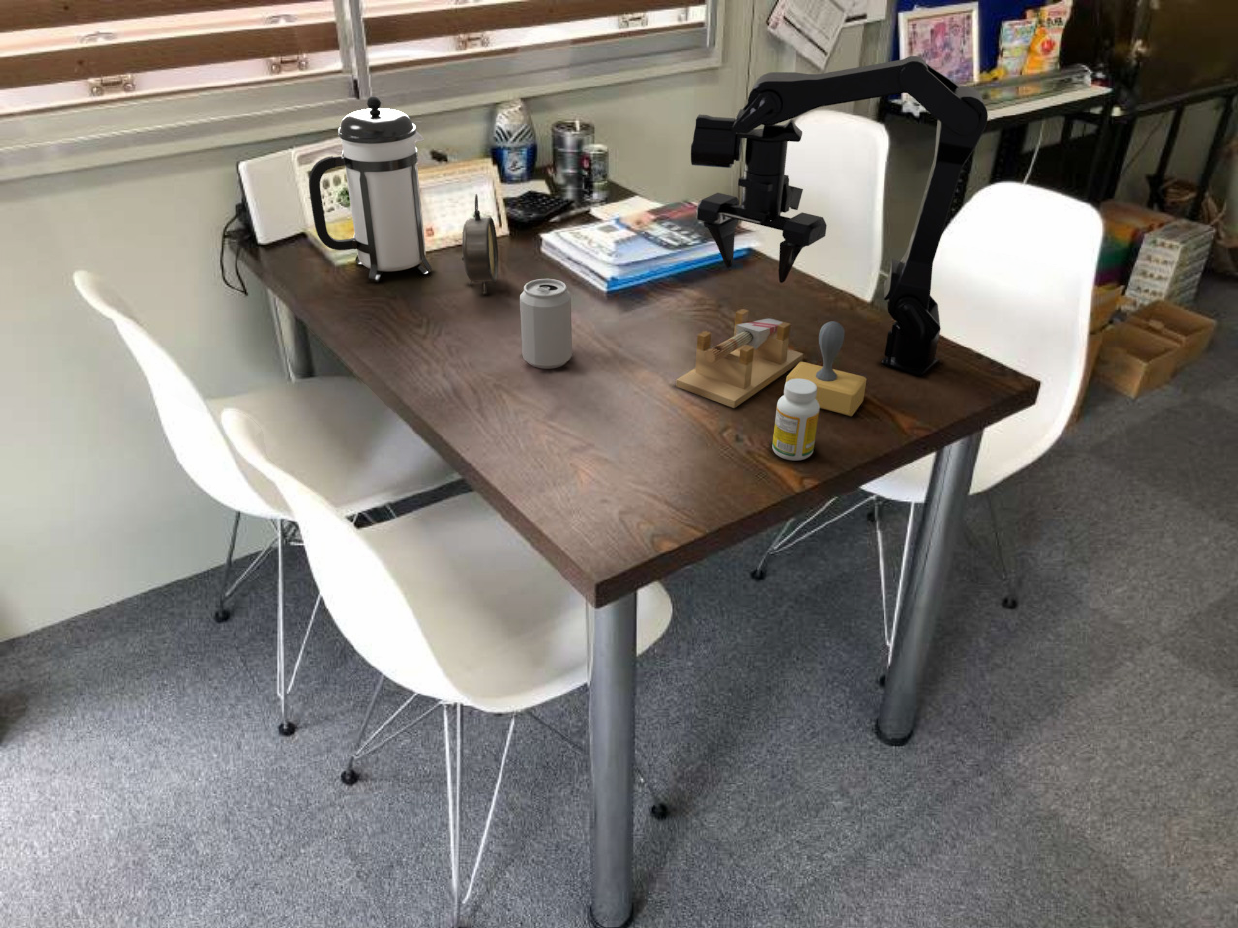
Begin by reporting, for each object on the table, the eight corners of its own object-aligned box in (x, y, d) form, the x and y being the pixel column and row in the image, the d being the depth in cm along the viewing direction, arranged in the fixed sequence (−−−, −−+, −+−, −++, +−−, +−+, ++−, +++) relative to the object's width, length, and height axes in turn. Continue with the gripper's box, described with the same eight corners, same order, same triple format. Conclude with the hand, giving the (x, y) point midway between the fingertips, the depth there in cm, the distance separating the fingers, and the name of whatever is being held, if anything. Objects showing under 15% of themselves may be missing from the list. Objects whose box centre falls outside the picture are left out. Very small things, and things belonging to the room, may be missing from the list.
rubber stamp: (783, 399, 142) (791, 322, 136) (797, 383, 147) (806, 307, 140) (850, 417, 138) (863, 338, 132) (863, 399, 143) (876, 322, 136)
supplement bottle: (777, 462, 129) (784, 396, 123) (767, 440, 133) (774, 376, 128) (818, 460, 129) (827, 395, 124) (807, 439, 134) (816, 375, 128)
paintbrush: (790, 314, 152) (722, 351, 137) (787, 331, 153) (719, 369, 139) (768, 308, 154) (698, 343, 139) (765, 325, 155) (696, 361, 141)
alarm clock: (493, 298, 171) (487, 205, 163) (462, 297, 172) (454, 204, 163) (500, 273, 181) (495, 184, 172) (470, 273, 181) (464, 183, 172)
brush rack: (802, 360, 153) (808, 317, 149) (734, 408, 140) (738, 362, 136) (746, 342, 158) (750, 299, 154) (676, 386, 145) (678, 341, 142)
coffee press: (378, 247, 191) (357, 82, 174) (450, 260, 186) (436, 91, 169) (320, 280, 177) (292, 104, 161) (397, 295, 172) (376, 115, 156)
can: (580, 354, 154) (579, 281, 147) (557, 375, 148) (555, 299, 142) (537, 345, 156) (535, 272, 150) (513, 365, 151) (509, 290, 144)
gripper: (850, 169, 142) (836, 273, 151) (738, 146, 152) (730, 245, 160) (813, 188, 135) (800, 296, 143) (696, 162, 144) (691, 265, 153)
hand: (755, 274), depth 150 cm, fingers open, 9 cm apart
